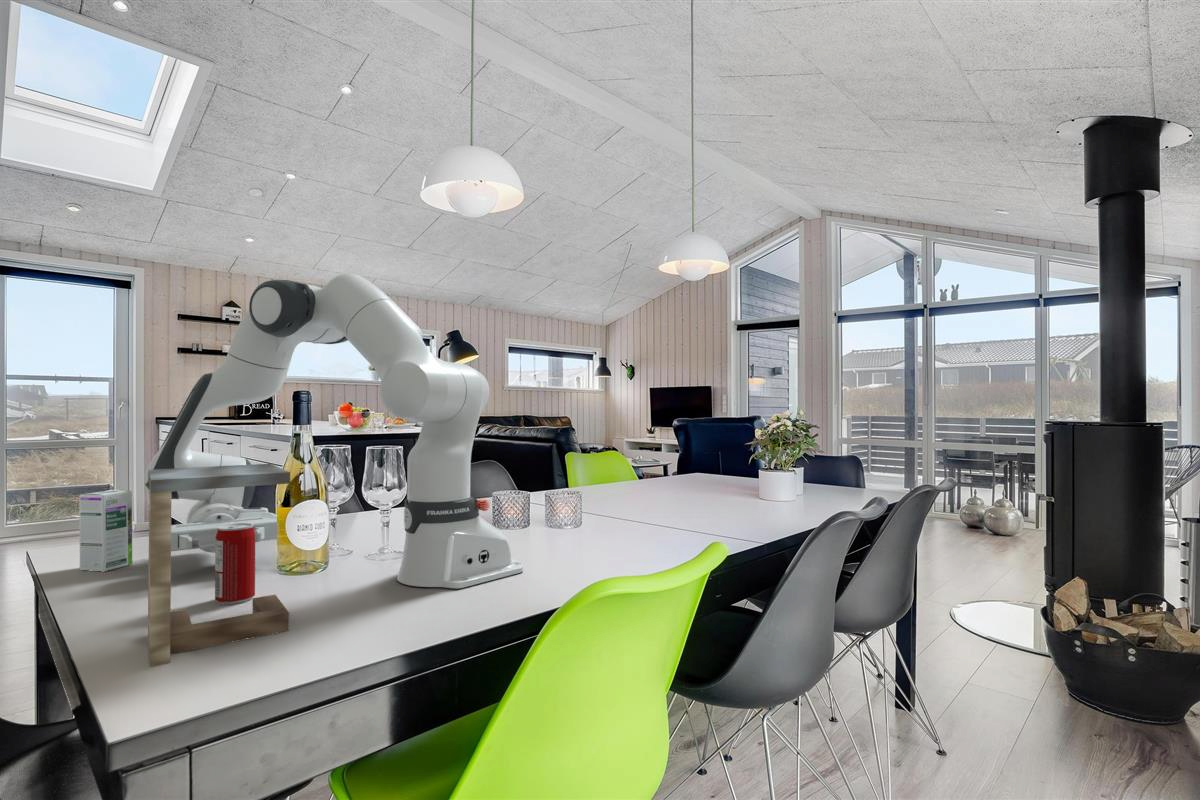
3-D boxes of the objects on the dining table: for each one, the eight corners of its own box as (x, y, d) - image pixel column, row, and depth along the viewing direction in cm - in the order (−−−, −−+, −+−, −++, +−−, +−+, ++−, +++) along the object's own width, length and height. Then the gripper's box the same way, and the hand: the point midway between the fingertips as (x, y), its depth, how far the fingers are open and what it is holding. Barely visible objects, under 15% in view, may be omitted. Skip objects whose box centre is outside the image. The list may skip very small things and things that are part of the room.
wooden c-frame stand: (269, 608, 94) (270, 463, 94) (289, 637, 82) (290, 472, 82) (146, 629, 85) (148, 469, 85) (149, 666, 73) (151, 480, 73)
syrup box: (103, 572, 114) (104, 494, 114) (77, 570, 115) (78, 493, 115) (132, 564, 119) (133, 489, 120) (107, 563, 121) (108, 489, 121)
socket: (275, 611, 93) (275, 594, 93) (288, 630, 85) (288, 612, 85) (160, 631, 84) (160, 613, 84) (163, 655, 76) (164, 635, 76)
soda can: (263, 596, 100) (263, 522, 100) (232, 606, 95) (233, 528, 95) (237, 592, 102) (238, 520, 102) (206, 602, 96) (207, 526, 97)
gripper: (150, 517, 113) (152, 529, 102) (275, 506, 125) (289, 516, 114) (150, 552, 113) (152, 568, 101) (275, 537, 125) (289, 550, 114)
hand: (225, 540), depth 108 cm, fingers open, 8 cm apart
